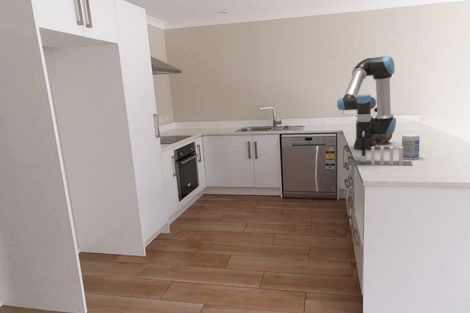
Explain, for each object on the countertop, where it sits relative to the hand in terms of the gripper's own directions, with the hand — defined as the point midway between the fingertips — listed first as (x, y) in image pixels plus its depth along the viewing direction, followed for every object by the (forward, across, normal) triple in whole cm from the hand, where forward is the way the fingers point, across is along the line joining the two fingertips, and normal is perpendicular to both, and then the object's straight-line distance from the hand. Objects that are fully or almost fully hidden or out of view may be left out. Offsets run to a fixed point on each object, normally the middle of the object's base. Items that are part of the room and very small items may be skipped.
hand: (363, 159), depth 207 cm
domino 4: (+2, 0, +20) cm, 20 cm away
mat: (+3, -3, +9) cm, 10 cm away
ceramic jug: (+3, -72, +10) cm, 73 cm away
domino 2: (+2, 0, +10) cm, 10 cm away
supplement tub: (+3, -17, +26) cm, 31 cm away
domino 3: (+2, 0, +15) cm, 15 cm away
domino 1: (+2, 0, +5) cm, 6 cm away
